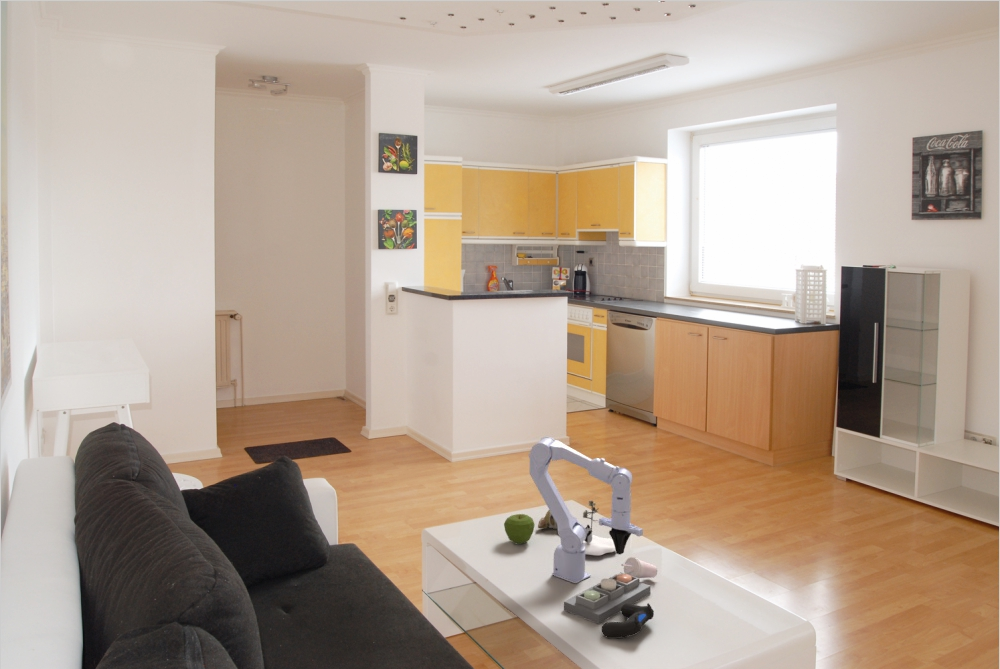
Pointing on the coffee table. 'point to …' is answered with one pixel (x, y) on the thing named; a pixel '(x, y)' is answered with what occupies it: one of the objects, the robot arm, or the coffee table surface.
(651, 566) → the smoothie
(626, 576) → the peach button
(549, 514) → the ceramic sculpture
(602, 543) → the figurine
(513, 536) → the apple
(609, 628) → the gaming controller
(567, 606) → the button panel
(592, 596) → the sage button
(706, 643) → the coffee table surface
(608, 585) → the offwhite button
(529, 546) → the coffee table surface
